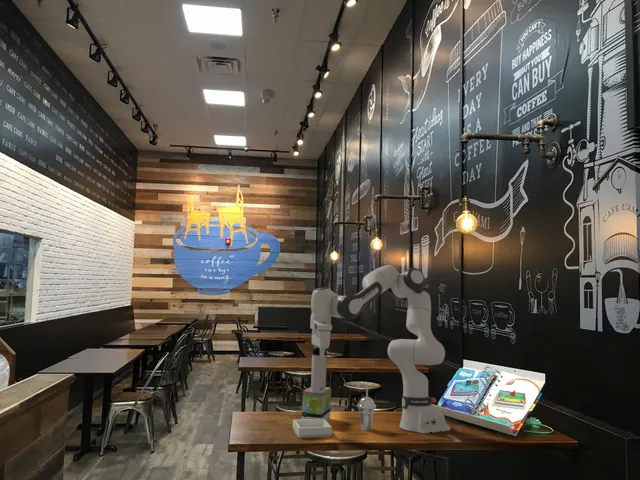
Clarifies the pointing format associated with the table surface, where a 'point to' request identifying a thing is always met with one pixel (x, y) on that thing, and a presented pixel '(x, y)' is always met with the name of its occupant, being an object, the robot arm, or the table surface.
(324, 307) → the robot arm
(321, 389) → the travel mug
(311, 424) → the tray
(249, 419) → the table surface
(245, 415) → the table surface
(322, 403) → the tea box
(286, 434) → the table surface
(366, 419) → the cup with straw
